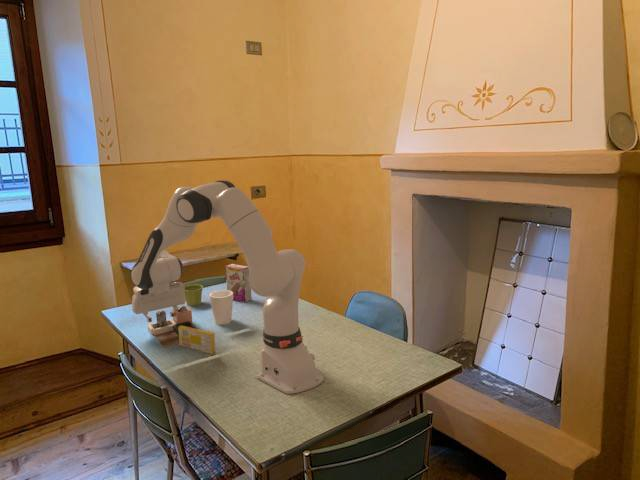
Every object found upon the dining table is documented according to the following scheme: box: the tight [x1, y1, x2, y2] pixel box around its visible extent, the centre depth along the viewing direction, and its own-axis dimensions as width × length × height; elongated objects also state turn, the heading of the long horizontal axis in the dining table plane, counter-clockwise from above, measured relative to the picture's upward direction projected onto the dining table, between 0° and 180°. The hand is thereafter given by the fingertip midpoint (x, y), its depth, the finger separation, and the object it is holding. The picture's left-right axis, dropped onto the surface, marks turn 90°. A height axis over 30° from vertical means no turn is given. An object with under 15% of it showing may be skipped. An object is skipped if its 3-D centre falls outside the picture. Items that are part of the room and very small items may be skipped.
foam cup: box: [209, 289, 234, 326], centre depth 192 cm, size 10×9×13 cm
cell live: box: [155, 310, 167, 328], centre depth 186 cm, size 4×4×8 cm
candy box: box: [178, 325, 216, 357], centre depth 169 cm, size 16×2×8 cm, turn 60°
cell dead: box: [177, 305, 186, 313], centre depth 191 cm, size 4×4×8 cm
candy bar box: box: [225, 263, 253, 304], centre depth 220 cm, size 11×5×16 cm, turn 58°
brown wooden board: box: [152, 321, 199, 349], centre depth 184 cm, size 22×16×3 cm
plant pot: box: [184, 284, 204, 307], centre depth 215 cm, size 9×9×9 cm
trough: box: [146, 318, 177, 336], centre depth 187 cm, size 8×10×2 cm
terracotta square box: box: [172, 305, 194, 325], centre depth 191 cm, size 6×6×6 cm
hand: (161, 319), depth 186 cm, fingers open, 8 cm apart
